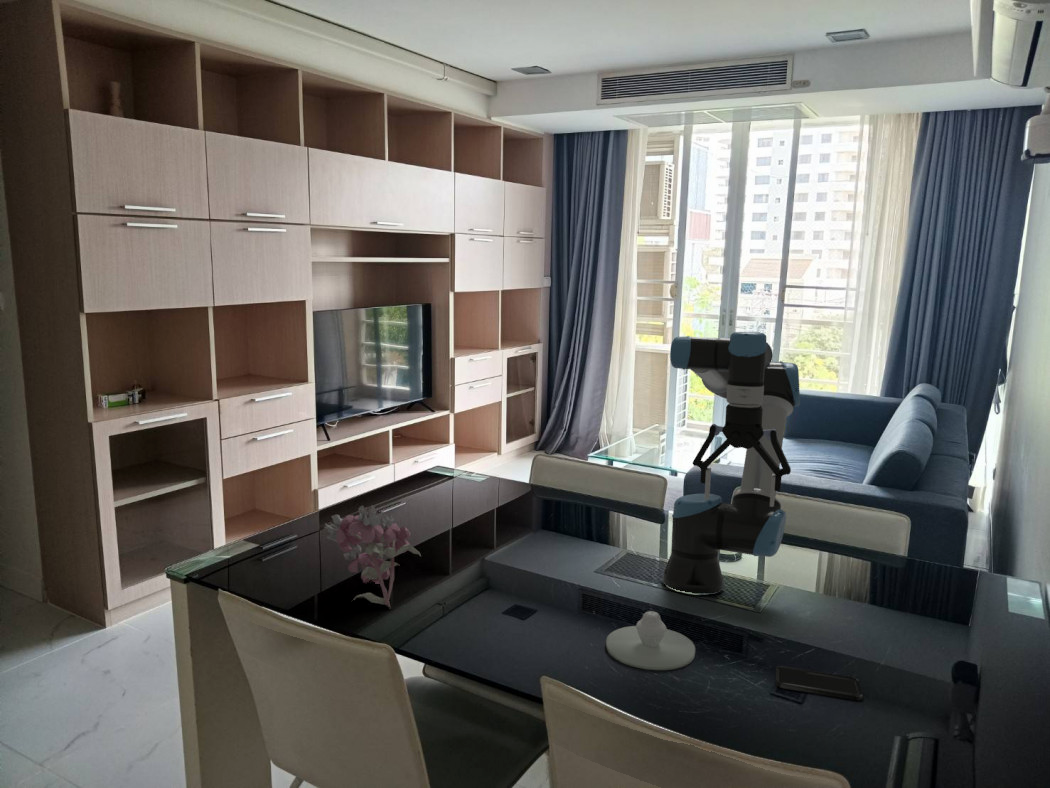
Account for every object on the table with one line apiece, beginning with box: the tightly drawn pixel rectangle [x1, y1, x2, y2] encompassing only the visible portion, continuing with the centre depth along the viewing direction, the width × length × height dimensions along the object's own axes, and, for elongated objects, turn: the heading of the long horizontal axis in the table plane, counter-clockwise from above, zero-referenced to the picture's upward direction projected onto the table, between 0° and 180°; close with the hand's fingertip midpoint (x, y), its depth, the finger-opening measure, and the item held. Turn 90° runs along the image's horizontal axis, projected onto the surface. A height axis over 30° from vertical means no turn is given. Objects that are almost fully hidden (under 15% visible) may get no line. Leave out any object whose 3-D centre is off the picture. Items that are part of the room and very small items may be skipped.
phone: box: [775, 665, 864, 702], centre depth 144 cm, size 8×1×15 cm
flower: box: [323, 504, 422, 609], centre depth 181 cm, size 20×22×25 cm
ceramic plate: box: [605, 625, 696, 671], centre depth 156 cm, size 18×18×1 cm
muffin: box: [635, 610, 667, 647], centre depth 156 cm, size 6×6×7 cm
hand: (739, 501), depth 165 cm, fingers open, 13 cm apart
